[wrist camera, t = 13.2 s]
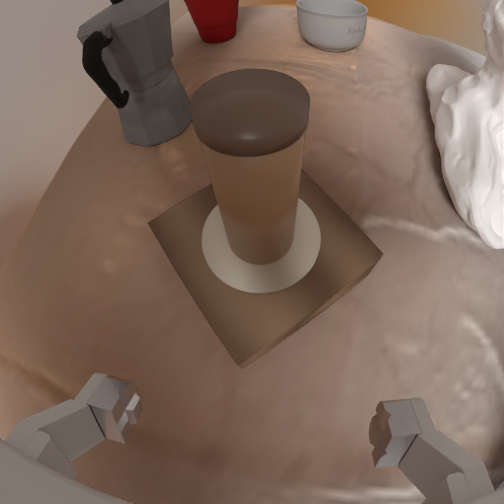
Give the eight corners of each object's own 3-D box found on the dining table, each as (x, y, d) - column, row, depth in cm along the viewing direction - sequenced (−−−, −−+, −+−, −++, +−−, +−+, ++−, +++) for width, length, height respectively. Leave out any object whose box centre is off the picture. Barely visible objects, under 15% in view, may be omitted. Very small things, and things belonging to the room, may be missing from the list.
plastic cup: (195, 28, 46) (185, -25, 35) (252, 24, 44) (248, -31, 34) (177, 52, 41) (163, -10, 30) (243, 48, 40) (236, -19, 29)
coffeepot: (136, 95, 36) (97, -15, 20) (203, 85, 36) (178, -38, 19) (104, 181, 30) (21, 45, 13) (187, 172, 29) (130, 0, 13)
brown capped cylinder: (252, 279, 19) (230, 157, 9) (213, 228, 21) (171, 97, 11) (309, 240, 20) (334, 106, 10) (268, 194, 22) (262, 59, 12)
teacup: (357, 65, 37) (364, 19, 29) (286, 49, 39) (286, 5, 32) (367, 35, 42) (373, -1, 35) (310, 22, 44) (311, -13, 37)
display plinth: (242, 368, 21) (235, 363, 17) (164, 246, 26) (146, 220, 22) (367, 275, 23) (384, 252, 20) (277, 177, 28) (277, 144, 24)
